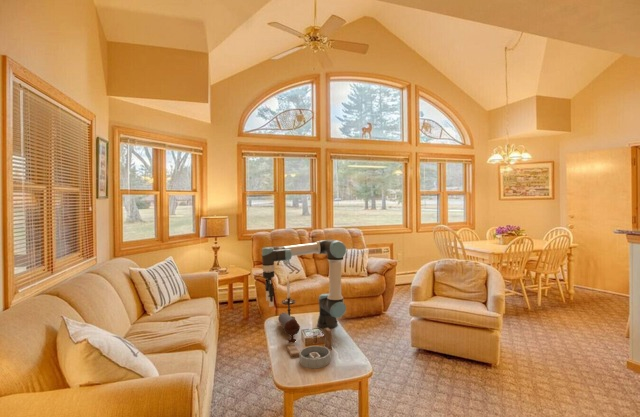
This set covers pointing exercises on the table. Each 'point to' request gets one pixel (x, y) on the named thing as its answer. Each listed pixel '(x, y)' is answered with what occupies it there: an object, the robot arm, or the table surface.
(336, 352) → the table surface
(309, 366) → the grey pet bowl
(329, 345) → the wick slat
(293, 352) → the slat
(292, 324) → the ice cream bowl
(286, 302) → the candlestick
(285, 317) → the bluetooth speaker
